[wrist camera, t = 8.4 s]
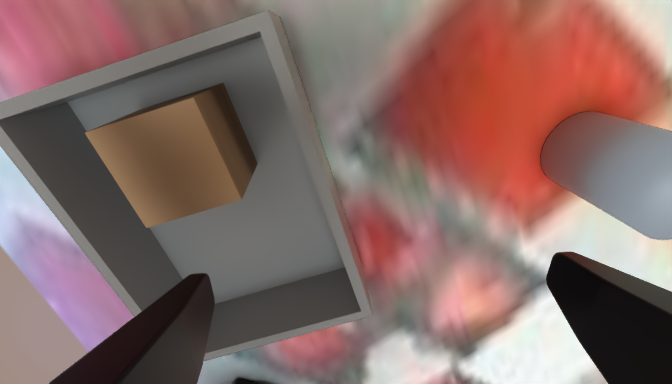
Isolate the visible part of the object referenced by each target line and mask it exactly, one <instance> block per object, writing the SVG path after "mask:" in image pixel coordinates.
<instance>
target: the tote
mask: <svg viewBox="0 0 672 384" xmlns="http://www.w3.org/2000/svg"><path fill="white" fill-rule="evenodd" d="M220 83H224V85H225V88H226V90H227V92H228V95H229V97H230V99H231V102H232V104H233V106H234V109H235V111H236V114H237V116H238V118H239V121H240V123H241V125H242V128H243V130H244V132H245V135H246V137H247V139H248V142H249V144H250V146H251V149H252V151H253V153H254V156H255V158H256V160H257V163H258V164H257V167H256V169H255V171H254V173H253V176H252V178H251V180H250V183H249V185H248V187H247V189H246V192H245V194H244V196H243V198H242V200H239V201H236V202H233V203H229V204H226V205H222V206H219V207H216V208H212V209H209V210H206V211H202V212H199V213H196V214H192V215H189V216H185V217H182V218H179V219H175V220H172V221H169V222H165V223H162V224H159V225H155V226H152V227H148V228H146V227H145V225H144V224H143V222H142V221H141V219H140V218H139V216H138V214H137V213H136V211H135V210H134V208H133V207H132V205H131V204H130V202H129V201H128V199H127V198H126V196H125V194H124V193H123V191H122V190H121V188H120V187H119V185H118V184H117V182H116V181H115V179H114V177H113V176H112V174H111V173H110V171H109V170H108V168H107V167H106V165H105V164H104V162H103V161H102V159H101V157H100V156H99V154H98V153H97V151H96V150H95V148H94V147H93V145H92V144H91V142H90V140H89V139H88V137H87V136H86V134H85V132H87V131H90V130H92V129H95V128H97V127H99V126H102V125H104V124H107V123H109V122H111V121H114V120H116V119H119V118H121V117H123V116H126V115H128V114H131V113H133V112H135V111H138V110H140V109H143V108H146V107H149V106H152V105H156V104H159V103H162V102H165V101H168V100H171V99H174V98H177V97H180V96H183V95H186V94H189V93H193V92H196V91H199V90H202V89H205V88H208V87H211V86H214V85H217V84H220ZM0 146H1V147H2V149H3V150H4V151H5V153H6V154H7V155H8V156H9V158H10V159H11V160H12V161H13V163H14V164H15V165H16V167H17V168H18V169H19V170H20V172H21V173H22V174H23V175H24V177H25V178H26V179H27V181H28V182H29V183H30V184H31V186H32V187H33V188H34V189H35V191H36V192H37V193H38V195H39V196H40V197H41V198H42V200H43V201H44V202H45V203H46V205H47V206H48V207H49V209H50V210H51V211H52V212H53V214H54V215H55V216H56V217H57V219H58V220H59V221H60V223H61V224H62V225H63V226H64V228H65V229H66V230H67V231H68V233H69V234H70V235H71V237H72V238H73V239H74V240H75V242H76V243H77V244H78V245H79V247H80V248H81V249H82V251H83V252H84V253H85V254H86V256H87V257H88V258H89V259H90V261H91V262H92V263H93V265H94V266H95V267H96V268H97V270H98V271H99V272H100V273H101V275H102V276H103V277H104V279H105V280H106V281H107V282H108V284H109V285H110V286H111V287H112V289H113V290H114V291H115V293H116V294H117V295H118V296H119V298H120V299H121V300H122V301H123V303H124V304H125V305H126V307H127V308H128V309H129V310H130V312H131V313H132V314H133V315H134V317H135V316H136V315H138V314H139V313H140V312H142V311H143V310H144V309H145V308H147V307H148V306H149V305H151V304H152V303H153V302H155V301H156V300H157V299H158V298H160V297H161V296H162V295H164V294H165V293H166V292H167V291H169V290H170V289H171V288H173V287H174V286H175V285H177V284H178V283H179V282H180V281H182V280H183V279H184V278H186V277H187V276H188V275H190V274H194V273H207V274H208V275H209V277H210V281H211V285H212V289H213V293H214V298H215V306H214V312H213V317H212V321H211V326H210V331H209V336H208V341H207V346H206V351H205V356H204V360H203V361H206V360H210V359H214V358H217V357H221V356H225V355H229V354H232V353H236V352H240V351H243V350H247V349H251V348H255V347H258V346H262V345H266V344H270V343H273V342H277V341H281V340H284V339H288V338H292V337H296V336H299V335H303V334H307V333H310V332H314V331H318V330H322V329H325V328H329V327H333V326H336V325H340V324H344V323H348V322H351V321H355V320H359V319H363V318H366V317H370V316H373V313H372V309H371V304H370V299H369V294H368V290H367V285H366V280H365V276H364V271H363V266H362V263H361V260H360V257H359V254H358V251H357V248H356V245H355V242H354V239H353V236H352V233H351V230H350V227H349V224H348V220H347V217H346V214H345V211H344V208H343V205H342V202H341V199H340V196H339V193H338V190H337V187H336V184H335V181H334V178H333V175H332V172H331V169H330V166H329V163H328V160H327V157H326V154H325V151H324V148H323V145H322V142H321V139H320V136H319V133H318V130H317V127H316V124H315V121H314V118H313V115H312V112H311V109H310V106H309V103H308V100H307V97H306V94H305V91H304V88H303V85H302V82H301V79H300V76H299V73H298V70H297V67H296V64H295V61H294V58H293V55H292V52H291V49H290V46H289V43H288V40H287V37H286V34H285V31H284V27H283V24H282V21H281V18H280V17H279V16H277V15H276V14H274V13H272V12H271V11H269V10H267V11H264V12H261V13H258V14H255V15H252V16H250V17H247V18H244V19H241V20H238V21H235V22H232V23H229V24H226V25H223V26H220V27H218V28H215V29H212V30H209V31H206V32H203V33H200V34H197V35H194V36H191V37H189V38H186V39H183V40H180V41H177V42H174V43H171V44H168V45H165V46H162V47H159V48H157V49H154V50H151V51H148V52H145V53H142V54H139V55H136V56H133V57H130V58H128V59H125V60H122V61H119V62H116V63H113V64H110V65H107V66H104V67H101V68H98V69H96V70H93V71H90V72H87V73H84V74H81V75H78V76H75V77H72V78H69V79H67V80H64V81H61V82H58V83H55V84H52V85H49V86H46V87H43V88H40V89H37V90H35V91H32V92H29V93H26V94H23V95H20V96H17V97H14V98H11V99H8V100H6V101H3V102H0Z"/></svg>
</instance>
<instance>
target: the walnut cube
mask: <svg viewBox="0 0 672 384" xmlns="http://www.w3.org/2000/svg"><path fill="white" fill-rule="evenodd" d="M85 134H86V136H87V137H88V139H89V140H90V142H91V144H92V145H93V147H94V148H95V150H96V151H97V153H98V154H99V156H100V157H101V159H102V161H103V162H104V164H105V165H106V167H107V168H108V170H109V171H110V173H111V174H112V176H113V177H114V179H115V181H116V182H117V184H118V185H119V187H120V188H121V190H122V191H123V193H124V194H125V196H126V198H127V199H128V201H129V202H130V204H131V205H132V207H133V208H134V210H135V211H136V213H137V214H138V216H139V218H140V219H141V221H142V222H143V224H144V225H145V227H146V228H148V227H152V226H155V225H159V224H162V223H165V222H169V221H172V220H175V219H179V218H182V217H185V216H189V215H192V214H196V213H199V212H202V211H206V210H209V209H212V208H216V207H219V206H222V205H226V204H229V203H233V202H236V201H239V200H242V198H243V196H244V194H245V192H246V189H247V187H248V185H249V183H250V180H251V178H252V176H253V173H254V171H255V169H256V167H257V164H258V163H257V160H256V158H255V156H254V153H253V151H252V149H251V146H250V144H249V142H248V139H247V137H246V135H245V132H244V130H243V128H242V125H241V123H240V121H239V118H238V116H237V114H236V111H235V109H234V106H233V104H232V102H231V99H230V97H229V95H228V92H227V90H226V88H225V85H224V83H220V84H217V85H214V86H211V87H208V88H205V89H202V90H199V91H196V92H193V93H189V94H186V95H183V96H180V97H177V98H174V99H171V100H168V101H165V102H162V103H159V104H156V105H152V106H149V107H146V108H143V109H140V110H138V111H135V112H133V113H131V114H128V115H126V116H123V117H121V118H119V119H116V120H114V121H111V122H109V123H107V124H104V125H102V126H99V127H97V128H95V129H92V130H90V131H87V132H85Z"/></svg>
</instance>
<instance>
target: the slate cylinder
mask: <svg viewBox="0 0 672 384" xmlns="http://www.w3.org/2000/svg"><path fill="white" fill-rule="evenodd" d="M541 167H542V170H543V172H544V174H545V175H546V176H547V177H548V178H549V179H550V180H552V181H554V182H555V183H557V184H559V185H560V186H562V187H564V188H565V189H567V190H569V191H571V192H572V193H574V194H576V195H577V196H579V197H581V198H582V199H584V200H586V201H587V202H589V203H591V204H593V205H594V206H596V207H598V208H599V209H601V210H603V211H604V212H606V213H608V214H609V215H611V216H613V217H615V218H616V219H618V220H620V221H621V222H623V223H625V224H626V225H628V226H630V227H631V228H633V229H635V230H636V231H638V232H640V233H642V234H643V235H645V236H647V237H649V238H652V239H657V240H669V239H672V131H669V130H665V129H662V128H658V127H654V126H650V125H646V124H642V123H638V122H635V121H631V120H627V119H623V118H619V117H615V116H612V115H608V114H604V113H600V112H595V111H587V112H581V113H578V114H575V115H573V116H571V117H569V118H567V119H566V120H564V121H563V122H561V123H560V124H559V125H558V126H557V127H556V128H555V129H554V130H553V131H552V132H551V133H550V135H549V136H548V138H547V140H546V141H545V143H544V146H543V149H542V152H541Z"/></svg>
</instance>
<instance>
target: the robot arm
mask: <svg viewBox="0 0 672 384" xmlns="http://www.w3.org/2000/svg"><path fill="white" fill-rule="evenodd" d="M546 282H547V285H548V288H549V289H550V291H551V293H552V295H553V296H554V298H555V300H556V302H557V304H558V305H559V307H560V309H561V311H562V312H563V314H564V316H565V318H566V320H567V321H568V323H569V325H570V327H571V328H572V330H573V332H574V334H575V335H576V337H577V339H578V340H579V342H580V343H581V345H582V346H583V348H584V349H585V351H586V352H587V354H588V355H589V356H590V358H591V359H592V361H593V362H594V364H595V365H596V367H597V368H598V369H599V371H600V372H601V374H602V375H603V377H604V378H605V380H606V381H607V383H608V384H672V292H671V291H668V290H666V289H663V288H661V287H658V286H656V285H653V284H651V283H649V282H646V281H644V280H641V279H639V278H636V277H634V276H631V275H629V274H626V273H624V272H621V271H619V270H617V269H614V268H612V267H609V266H607V265H604V264H602V263H599V262H597V261H594V260H592V259H589V258H587V257H584V256H582V255H580V254H577V253H574V252H558V253H556V254H555V255H554V256H553V258H552V261H551V264H550V267H549V270H548V273H547V277H546ZM214 306H215V298H214V293H213V289H212V285H211V281H210V277H209V275H208V274H207V273H194V274H190V275H188V276H187V277H186V278H184V279H183V280H182V281H180V282H179V283H178V284H177V285H175V286H174V287H173V288H171V289H170V290H169V291H167V292H166V293H165V294H164V295H162V296H161V297H160V298H158V299H157V300H156V301H155V302H153V303H152V304H151V305H149V306H148V307H147V308H145V309H144V310H143V311H142V312H140V313H139V314H138V315H136V316H135V317H134V318H133V319H131V320H130V321H129V322H127V323H126V324H125V325H123V326H122V327H121V328H120V329H118V330H117V331H116V332H114V333H113V334H112V335H111V336H109V337H108V338H107V339H105V340H104V341H103V342H101V343H100V344H99V345H98V346H96V347H95V348H94V349H92V350H91V351H90V352H89V353H87V354H86V355H85V356H83V357H82V358H81V359H79V360H78V361H77V362H76V363H74V364H73V365H72V366H70V367H69V368H68V369H66V370H65V371H64V372H63V373H61V374H60V375H59V376H57V377H56V378H55V379H54V380H52V381H51V382H50V383H49V384H197V381H198V378H199V375H200V372H201V368H202V365H203V360H204V356H205V351H206V346H207V341H208V336H209V331H210V326H211V321H212V317H213V312H214ZM233 384H257V383H253V382H250V381H246V380H243V379H237V380H235V381H234V382H233Z"/></svg>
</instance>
